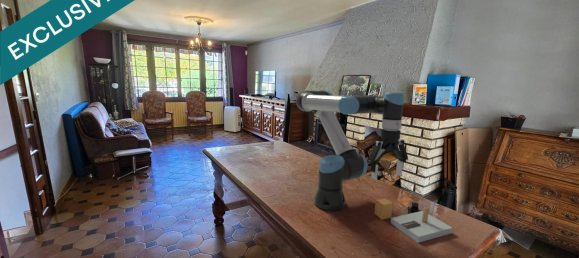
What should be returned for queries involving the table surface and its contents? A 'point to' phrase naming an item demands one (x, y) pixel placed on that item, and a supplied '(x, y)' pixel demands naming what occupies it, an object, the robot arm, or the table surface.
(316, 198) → the robot arm
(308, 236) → the table surface
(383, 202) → the cardboard-colored cube
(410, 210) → the black power adapter
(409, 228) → the junction plate
